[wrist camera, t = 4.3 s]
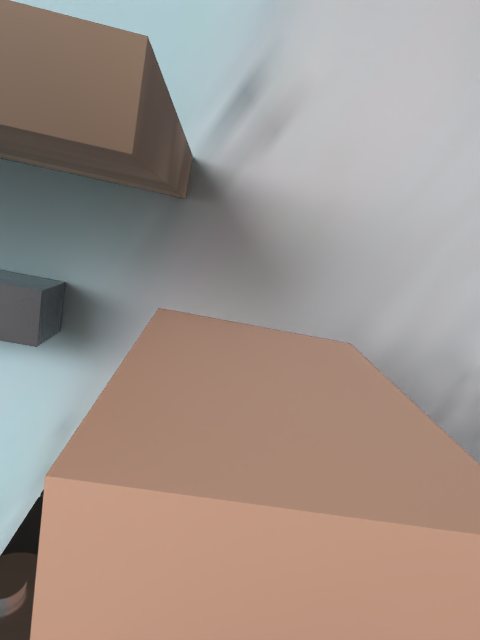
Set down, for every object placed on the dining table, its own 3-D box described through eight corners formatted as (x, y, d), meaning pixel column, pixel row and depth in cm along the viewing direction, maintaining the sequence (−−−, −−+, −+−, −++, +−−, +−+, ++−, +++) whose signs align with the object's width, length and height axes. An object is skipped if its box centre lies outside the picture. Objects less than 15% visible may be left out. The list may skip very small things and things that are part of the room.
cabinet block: (159, 307, 10) (46, 476, 4) (350, 343, 11) (567, 546, 4) (121, 545, 12) (1, 948, 5) (285, 565, 13) (361, 951, 6)
